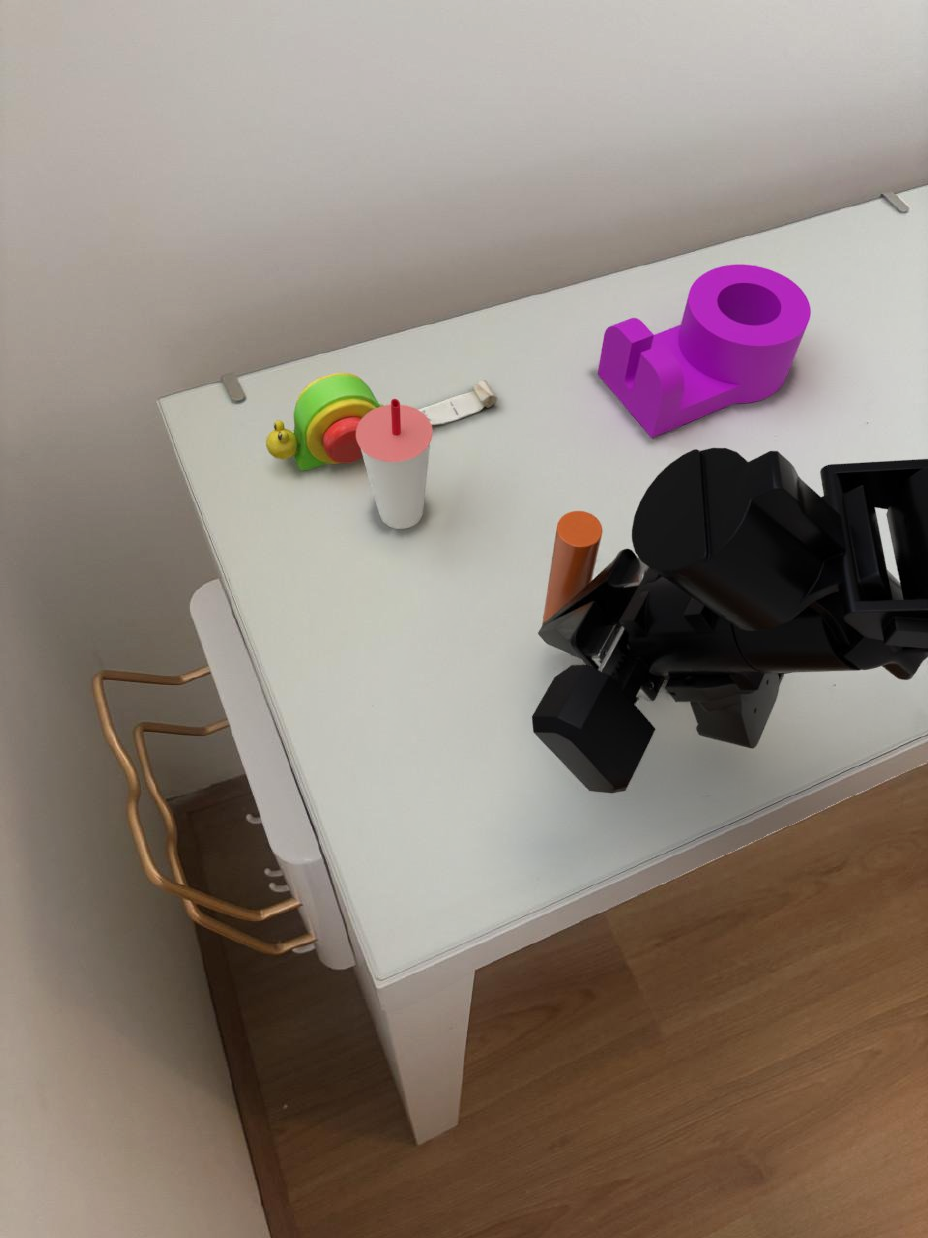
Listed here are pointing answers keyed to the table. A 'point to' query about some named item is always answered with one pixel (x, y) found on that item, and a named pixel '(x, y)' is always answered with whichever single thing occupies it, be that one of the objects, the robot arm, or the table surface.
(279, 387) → the table surface
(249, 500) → the table surface
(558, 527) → the crank handle
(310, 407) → the toy measuring tape
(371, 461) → the cup
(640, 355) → the tape dispenser
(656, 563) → the robot arm
